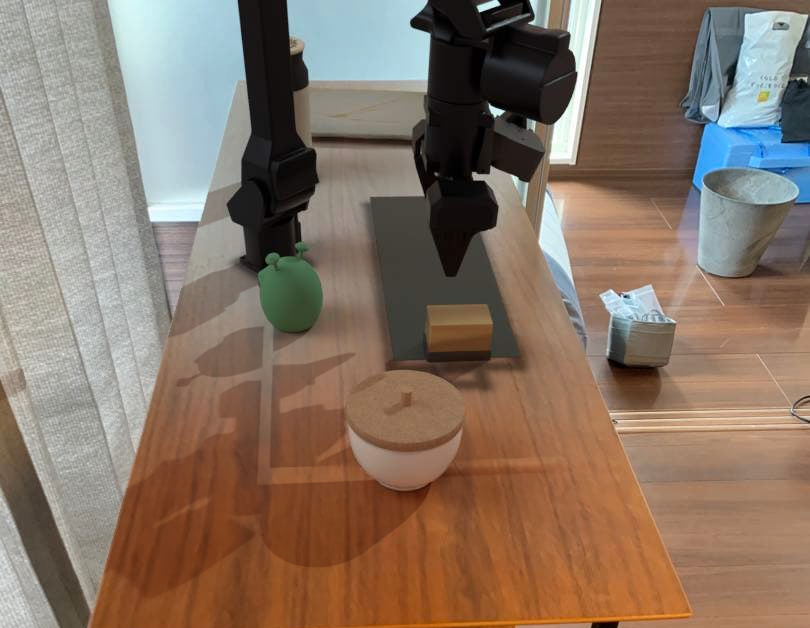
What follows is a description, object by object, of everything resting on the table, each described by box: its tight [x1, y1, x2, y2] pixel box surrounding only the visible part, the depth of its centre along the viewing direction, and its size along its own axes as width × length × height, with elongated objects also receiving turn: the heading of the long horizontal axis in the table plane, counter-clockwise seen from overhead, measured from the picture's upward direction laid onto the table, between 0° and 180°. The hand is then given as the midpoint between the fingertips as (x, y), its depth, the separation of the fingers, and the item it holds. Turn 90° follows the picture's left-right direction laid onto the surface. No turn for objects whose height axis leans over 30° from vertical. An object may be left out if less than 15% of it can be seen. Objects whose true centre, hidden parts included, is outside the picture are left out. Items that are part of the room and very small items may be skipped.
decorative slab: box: [309, 86, 427, 141], centre depth 138 cm, size 27×21×2 cm
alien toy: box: [257, 241, 324, 333], centre depth 91 cm, size 7×8×10 cm
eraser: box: [423, 304, 493, 363], centre depth 89 cm, size 4×7×4 cm, turn 95°
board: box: [369, 195, 522, 362], centre depth 104 cm, size 40×14×1 cm, turn 5°
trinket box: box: [345, 369, 467, 492], centre depth 76 cm, size 11×11×9 cm
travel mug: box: [289, 35, 313, 148], centre depth 116 cm, size 8×8×18 cm
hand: (445, 253), depth 86 cm, fingers open, 9 cm apart
